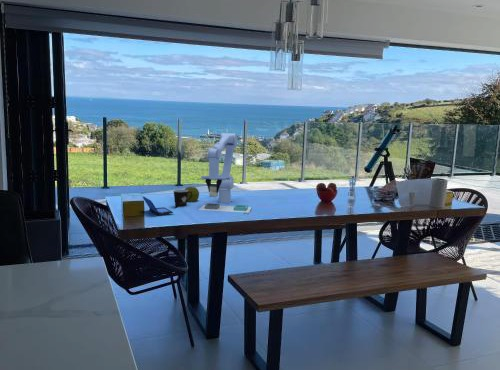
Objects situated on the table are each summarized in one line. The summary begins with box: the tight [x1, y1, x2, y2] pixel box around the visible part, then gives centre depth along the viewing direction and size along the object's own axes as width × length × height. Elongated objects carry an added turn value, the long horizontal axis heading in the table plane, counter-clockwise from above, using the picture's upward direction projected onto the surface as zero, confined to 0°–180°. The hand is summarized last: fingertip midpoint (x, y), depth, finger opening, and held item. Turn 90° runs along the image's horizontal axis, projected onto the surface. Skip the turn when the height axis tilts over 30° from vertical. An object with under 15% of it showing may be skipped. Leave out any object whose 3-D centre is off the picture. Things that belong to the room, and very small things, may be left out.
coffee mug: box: [173, 188, 192, 209], centre depth 276 cm, size 12×9×10 cm
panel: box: [198, 202, 253, 215], centre depth 272 cm, size 14×29×3 cm, turn 83°
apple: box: [184, 186, 200, 203], centre depth 290 cm, size 10×10×11 cm
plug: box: [209, 183, 219, 198], centre depth 271 cm, size 4×4×7 cm
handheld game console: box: [142, 195, 174, 217], centre depth 261 cm, size 16×13×9 cm
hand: (213, 192), depth 271 cm, fingers closed on plug, 4 cm apart
